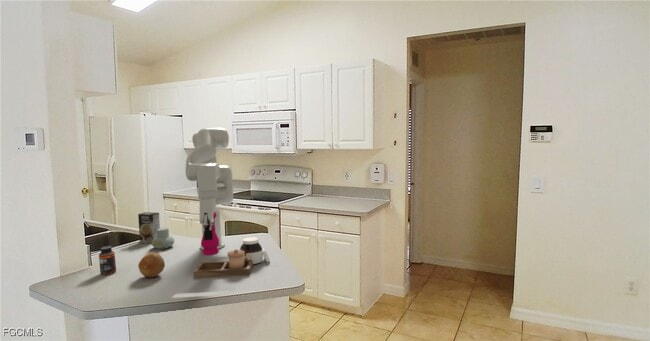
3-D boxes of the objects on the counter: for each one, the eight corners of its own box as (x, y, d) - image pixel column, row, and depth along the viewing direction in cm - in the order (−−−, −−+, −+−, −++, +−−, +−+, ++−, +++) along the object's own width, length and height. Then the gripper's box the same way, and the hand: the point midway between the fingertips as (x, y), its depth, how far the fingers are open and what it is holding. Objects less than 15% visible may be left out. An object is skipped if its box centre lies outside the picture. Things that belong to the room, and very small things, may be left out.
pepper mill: (214, 256, 151) (212, 207, 149) (198, 255, 152) (195, 206, 151) (222, 250, 158) (220, 204, 156) (207, 250, 159) (204, 203, 158)
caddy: (201, 270, 161) (200, 262, 161) (252, 268, 163) (252, 260, 162) (194, 280, 150) (193, 271, 150) (249, 277, 152) (249, 268, 151)
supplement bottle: (113, 269, 166) (112, 244, 165) (118, 272, 161) (116, 247, 160) (98, 273, 161) (96, 247, 160) (102, 276, 157) (100, 250, 156)
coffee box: (139, 242, 208) (137, 214, 207) (146, 239, 215) (144, 211, 213) (154, 243, 207) (152, 214, 205) (161, 240, 213) (159, 212, 212)
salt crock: (229, 268, 160) (228, 247, 159) (246, 267, 160) (245, 246, 160) (227, 274, 153) (225, 252, 152) (244, 273, 153) (243, 251, 153)
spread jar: (237, 264, 168) (236, 239, 167) (258, 258, 176) (257, 234, 175) (254, 270, 160) (252, 243, 159) (274, 263, 168) (273, 238, 167)
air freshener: (149, 249, 195) (148, 230, 194) (159, 244, 203) (158, 226, 202) (167, 250, 193) (166, 231, 192) (177, 245, 201) (176, 227, 200)
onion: (139, 274, 159) (138, 251, 158) (165, 270, 162) (163, 248, 162) (138, 282, 150) (136, 258, 149) (165, 278, 154) (163, 254, 153)
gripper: (203, 192, 161) (205, 233, 163) (192, 198, 144) (195, 244, 146) (221, 191, 162) (223, 232, 163) (212, 197, 145) (215, 243, 146)
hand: (210, 237), depth 154 cm, fingers closed on pepper mill, 5 cm apart
